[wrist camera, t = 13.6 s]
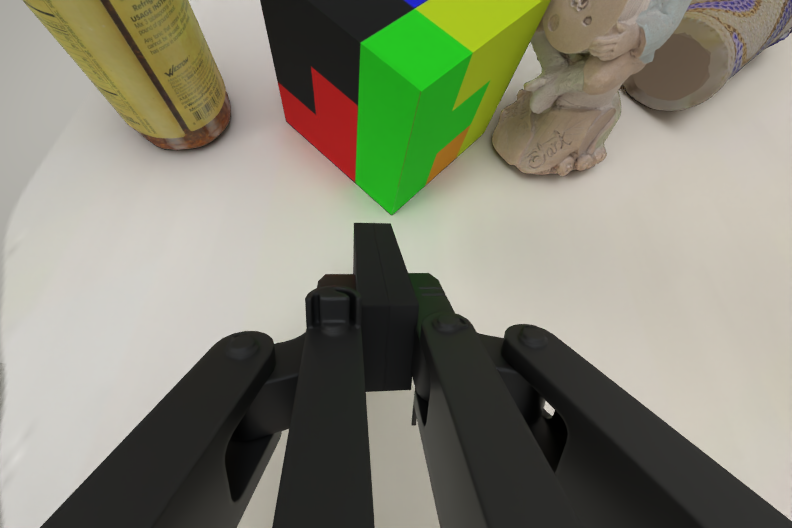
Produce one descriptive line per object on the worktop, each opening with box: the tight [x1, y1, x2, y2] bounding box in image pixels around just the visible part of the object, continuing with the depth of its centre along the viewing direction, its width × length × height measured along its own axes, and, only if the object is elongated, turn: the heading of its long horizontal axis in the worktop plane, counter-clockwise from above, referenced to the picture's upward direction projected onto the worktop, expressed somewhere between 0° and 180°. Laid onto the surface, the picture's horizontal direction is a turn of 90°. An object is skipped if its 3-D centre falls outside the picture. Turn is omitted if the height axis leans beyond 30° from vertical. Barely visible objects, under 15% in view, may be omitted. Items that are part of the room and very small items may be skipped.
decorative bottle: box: [623, 0, 792, 111], centre depth 31 cm, size 26×8×7 cm, turn 129°
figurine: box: [492, 0, 692, 176], centre depth 18 cm, size 9×8×20 cm
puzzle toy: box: [260, 0, 551, 215], centre depth 21 cm, size 10×10×10 cm
